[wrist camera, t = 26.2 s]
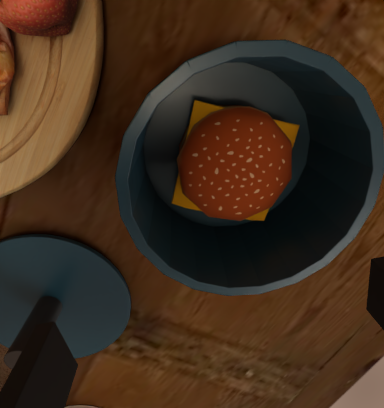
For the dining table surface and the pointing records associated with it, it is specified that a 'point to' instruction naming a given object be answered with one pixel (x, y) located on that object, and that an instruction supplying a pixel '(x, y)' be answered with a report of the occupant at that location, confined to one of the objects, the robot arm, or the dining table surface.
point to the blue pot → (294, 191)
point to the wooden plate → (45, 82)
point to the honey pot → (80, 406)
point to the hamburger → (233, 161)
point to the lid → (59, 294)
